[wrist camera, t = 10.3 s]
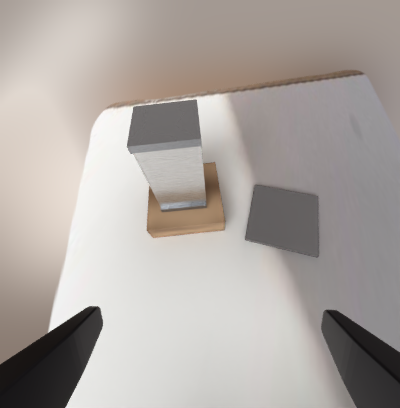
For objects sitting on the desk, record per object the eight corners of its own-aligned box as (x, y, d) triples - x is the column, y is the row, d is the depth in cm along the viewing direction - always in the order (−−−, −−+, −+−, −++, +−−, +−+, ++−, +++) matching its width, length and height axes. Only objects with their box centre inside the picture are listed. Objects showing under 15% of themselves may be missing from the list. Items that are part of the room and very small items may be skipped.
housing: (206, 208, 23) (200, 138, 14) (162, 212, 23) (126, 146, 14) (203, 176, 25) (196, 99, 16) (162, 180, 25) (133, 106, 16)
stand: (224, 230, 24) (225, 221, 22) (153, 237, 24) (146, 230, 22) (215, 173, 28) (215, 162, 26) (155, 180, 28) (150, 169, 26)
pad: (316, 257, 21) (318, 256, 21) (245, 240, 23) (245, 238, 23) (316, 198, 25) (318, 196, 25) (254, 186, 27) (255, 184, 26)
